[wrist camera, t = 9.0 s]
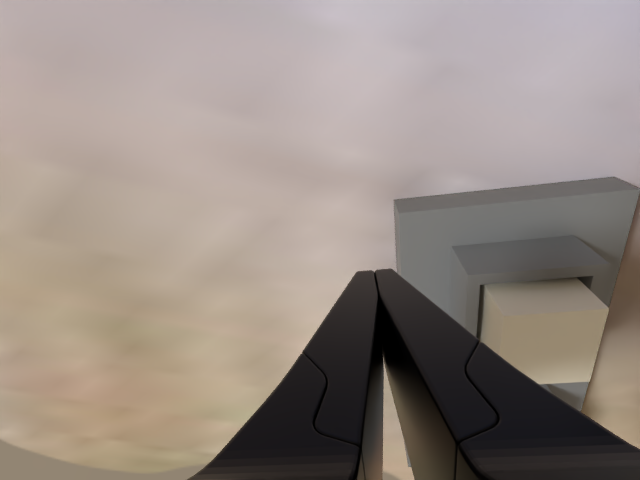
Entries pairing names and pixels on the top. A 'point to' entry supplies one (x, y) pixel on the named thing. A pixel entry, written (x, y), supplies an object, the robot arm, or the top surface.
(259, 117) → the top surface
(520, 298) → the beige cube
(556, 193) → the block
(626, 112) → the top surface
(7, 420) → the top surface
